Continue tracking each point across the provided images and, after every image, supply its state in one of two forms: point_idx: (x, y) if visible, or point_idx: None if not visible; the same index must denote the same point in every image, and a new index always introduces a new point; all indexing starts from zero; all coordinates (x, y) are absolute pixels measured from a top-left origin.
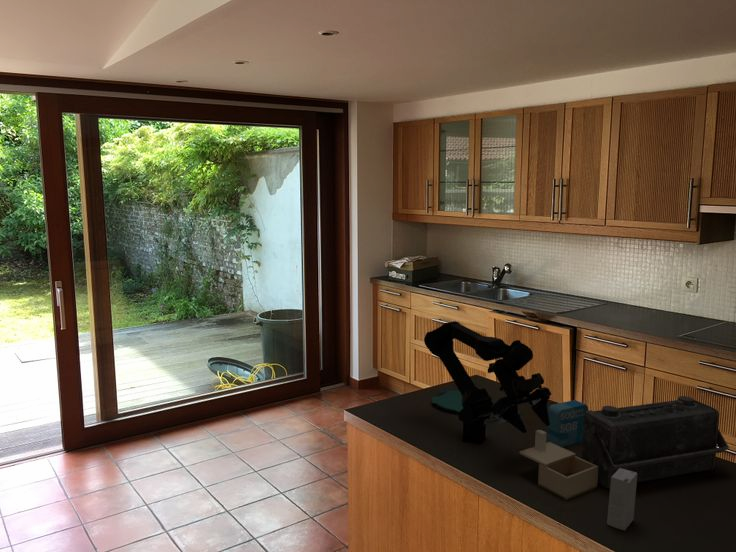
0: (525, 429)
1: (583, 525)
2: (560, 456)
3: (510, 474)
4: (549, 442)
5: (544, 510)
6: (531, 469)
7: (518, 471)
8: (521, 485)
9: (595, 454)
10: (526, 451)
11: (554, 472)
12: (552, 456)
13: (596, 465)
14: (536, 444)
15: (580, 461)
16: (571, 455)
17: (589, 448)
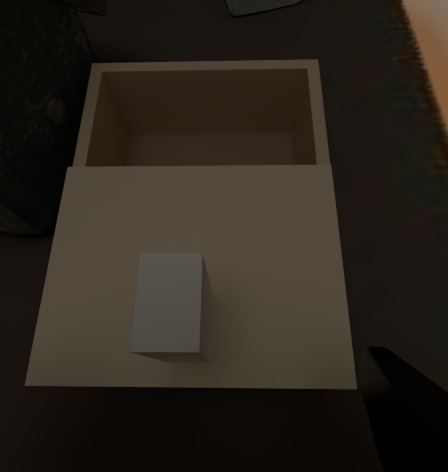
0: (385, 360)
1: (366, 26)
2: (173, 186)
3: (354, 416)
4: (34, 374)
5: (421, 125)
6: (213, 392)
7: (291, 416)
8: (378, 298)
9: (38, 62)
10: (308, 359)
11: (324, 122)
12: (214, 210)
13: (69, 95)
14: (209, 345)
15: (93, 148)
16: (106, 167)
17: (5, 93)
